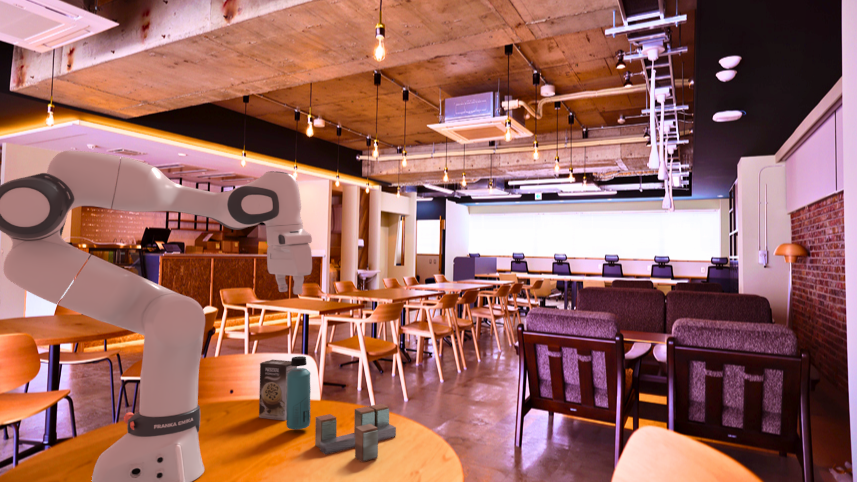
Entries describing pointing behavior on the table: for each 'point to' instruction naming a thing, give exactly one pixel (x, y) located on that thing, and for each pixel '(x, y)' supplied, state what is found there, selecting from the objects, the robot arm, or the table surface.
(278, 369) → the coffee box
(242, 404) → the table surface
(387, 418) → the grey block holder
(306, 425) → the beverage bottle
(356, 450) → the brown-topped upright block
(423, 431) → the table surface
